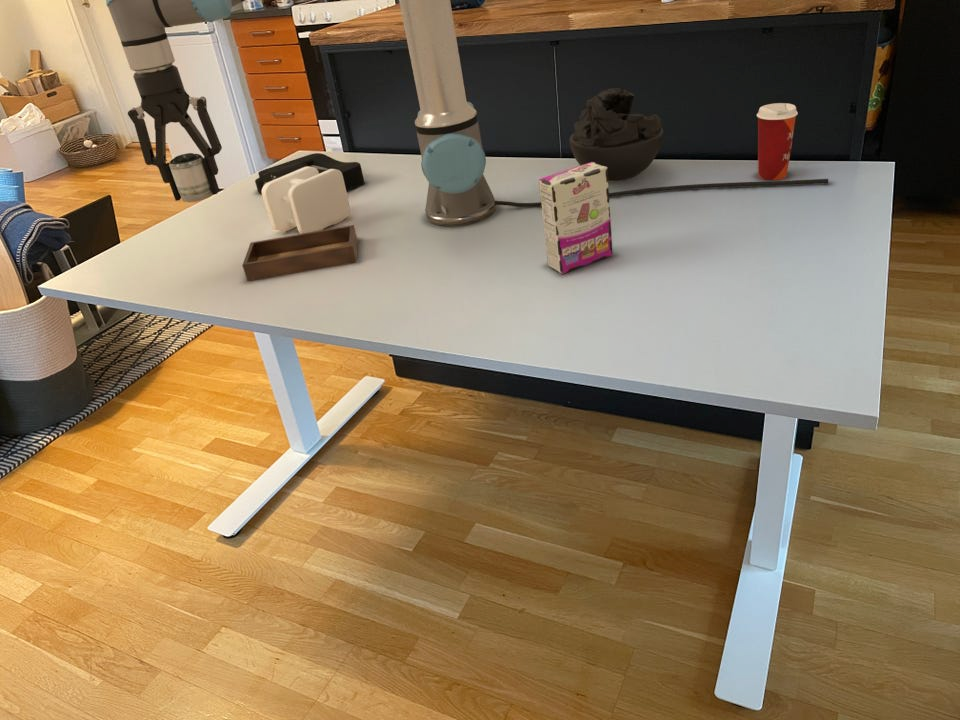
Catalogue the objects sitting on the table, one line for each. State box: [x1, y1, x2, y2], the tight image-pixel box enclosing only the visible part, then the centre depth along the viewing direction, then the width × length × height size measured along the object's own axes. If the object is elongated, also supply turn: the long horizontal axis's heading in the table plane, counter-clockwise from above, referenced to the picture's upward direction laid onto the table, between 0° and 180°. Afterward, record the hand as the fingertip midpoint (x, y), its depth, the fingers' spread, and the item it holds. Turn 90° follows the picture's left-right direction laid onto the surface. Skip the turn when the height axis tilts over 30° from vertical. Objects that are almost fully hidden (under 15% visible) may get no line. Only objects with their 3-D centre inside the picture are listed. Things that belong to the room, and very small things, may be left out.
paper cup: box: [756, 102, 799, 181], centre depth 152 cm, size 8×8×14 cm
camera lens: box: [168, 152, 213, 203], centre depth 140 cm, size 6×6×8 cm
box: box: [242, 224, 358, 282], centre depth 150 cm, size 22×12×4 cm, turn 97°
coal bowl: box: [569, 87, 664, 182], centre depth 162 cm, size 20×20×19 cm
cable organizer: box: [261, 167, 351, 234], centre depth 164 cm, size 15×11×12 cm
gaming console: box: [254, 152, 365, 195], centre depth 189 cm, size 27×20×7 cm
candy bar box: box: [538, 162, 613, 275], centre depth 129 cm, size 11×5×16 cm, turn 117°
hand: (197, 194), depth 142 cm, fingers closed on camera lens, 6 cm apart
